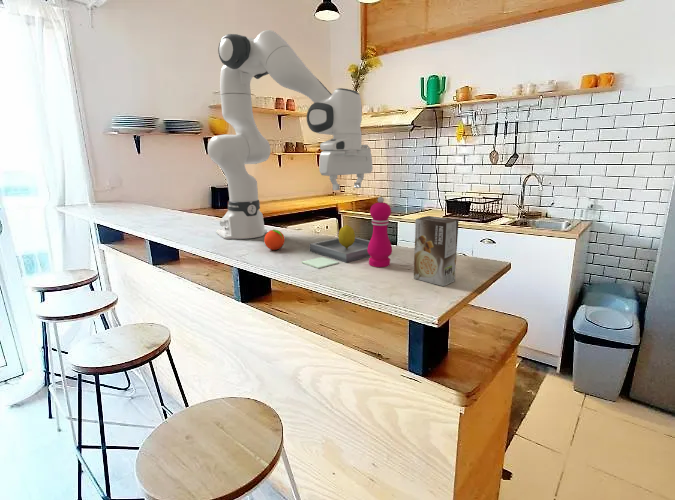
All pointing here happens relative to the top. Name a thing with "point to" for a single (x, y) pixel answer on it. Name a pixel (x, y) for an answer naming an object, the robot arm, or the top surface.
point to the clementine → (274, 239)
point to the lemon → (346, 236)
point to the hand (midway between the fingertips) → (347, 189)
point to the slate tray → (341, 249)
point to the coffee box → (435, 250)
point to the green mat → (320, 262)
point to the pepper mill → (380, 235)
